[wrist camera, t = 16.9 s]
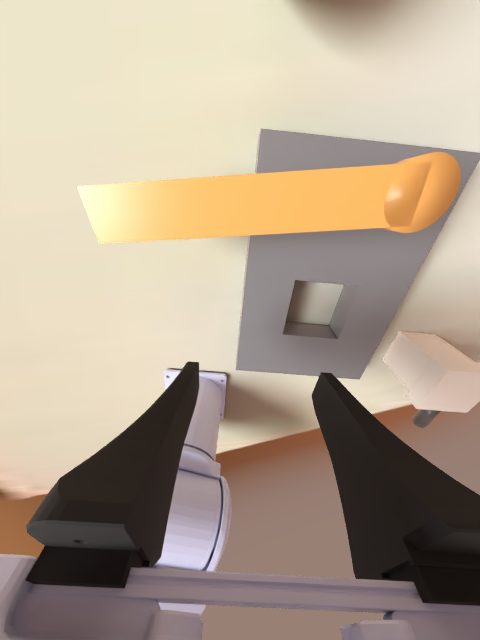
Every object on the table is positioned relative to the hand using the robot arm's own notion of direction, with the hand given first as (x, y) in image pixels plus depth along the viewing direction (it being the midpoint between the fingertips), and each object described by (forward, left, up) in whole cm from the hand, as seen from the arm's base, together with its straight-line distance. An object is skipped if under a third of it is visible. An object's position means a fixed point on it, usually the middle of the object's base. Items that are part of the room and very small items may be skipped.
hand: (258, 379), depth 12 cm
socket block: (+3, -6, -10) cm, 12 cm away
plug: (-6, -19, -11) cm, 22 cm away
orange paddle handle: (+9, +1, -3) cm, 10 cm away
